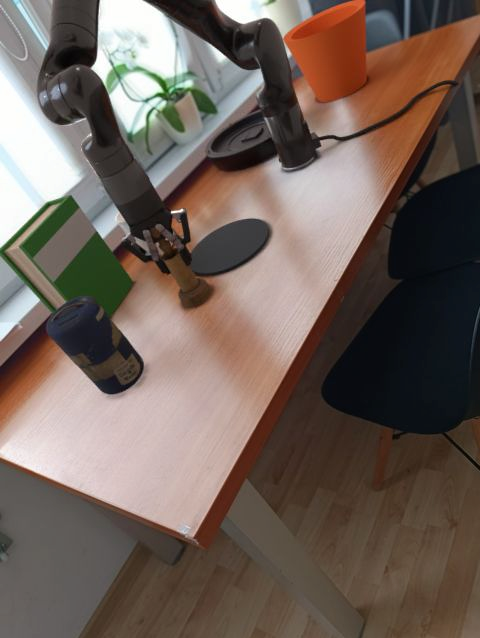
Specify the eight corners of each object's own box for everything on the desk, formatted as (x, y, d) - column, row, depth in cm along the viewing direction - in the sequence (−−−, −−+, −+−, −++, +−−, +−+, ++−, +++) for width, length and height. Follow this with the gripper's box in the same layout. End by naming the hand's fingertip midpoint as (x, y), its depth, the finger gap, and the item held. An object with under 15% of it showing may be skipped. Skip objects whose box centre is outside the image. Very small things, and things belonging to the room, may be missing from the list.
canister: (107, 369, 94) (45, 301, 83) (149, 352, 93) (93, 280, 81) (99, 405, 87) (31, 336, 76) (145, 387, 85) (83, 314, 74)
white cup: (181, 235, 124) (157, 194, 117) (166, 259, 118) (139, 217, 111) (152, 241, 129) (127, 202, 121) (135, 264, 123) (108, 224, 115)
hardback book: (98, 335, 105) (21, 245, 90) (74, 337, 108) (-4, 251, 93) (134, 282, 116) (70, 194, 101) (111, 286, 119) (46, 202, 104)
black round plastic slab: (198, 182, 146) (288, 159, 131) (189, 164, 142) (280, 138, 127) (232, 136, 164) (314, 111, 149) (224, 119, 160) (308, 92, 146)
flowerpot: (388, 83, 142) (372, 7, 130) (307, 117, 148) (284, 48, 136) (373, 62, 160) (357, -6, 148) (301, 94, 167) (281, 31, 154)
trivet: (261, 210, 116) (260, 207, 116) (277, 249, 101) (276, 246, 100) (187, 245, 119) (186, 243, 118) (191, 288, 103) (190, 285, 103)
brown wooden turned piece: (206, 304, 97) (160, 229, 85) (179, 310, 99) (130, 238, 88) (214, 283, 101) (171, 209, 90) (188, 289, 104) (142, 218, 92)
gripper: (93, 217, 82) (147, 292, 93) (167, 180, 81) (213, 262, 92) (97, 200, 88) (147, 273, 99) (167, 165, 86) (210, 244, 97)
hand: (179, 267), depth 95 cm, fingers closed on brown wooden turned piece, 4 cm apart
